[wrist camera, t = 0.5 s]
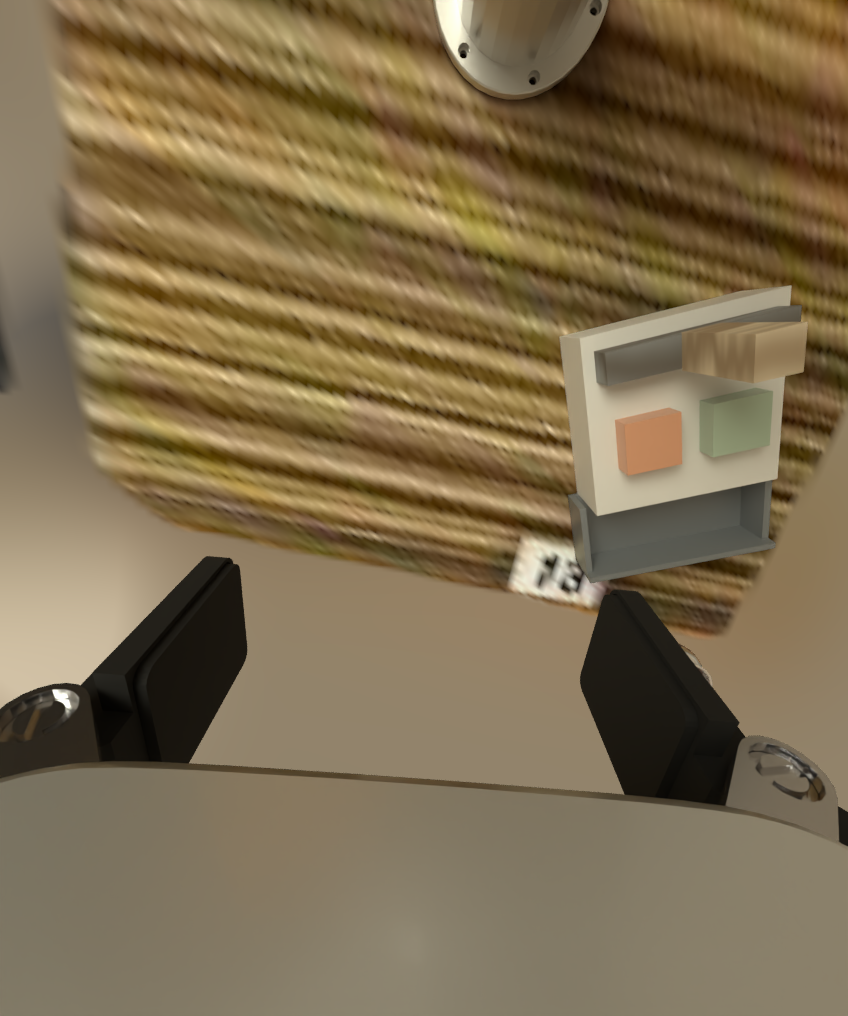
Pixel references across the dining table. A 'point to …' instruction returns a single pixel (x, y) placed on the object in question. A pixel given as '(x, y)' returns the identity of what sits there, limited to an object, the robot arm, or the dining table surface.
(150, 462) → the dining table surface
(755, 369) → the scraper
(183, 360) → the dining table surface
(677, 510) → the tray
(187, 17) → the dining table surface
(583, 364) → the white flat square block
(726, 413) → the green tile
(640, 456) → the terracotta tile
